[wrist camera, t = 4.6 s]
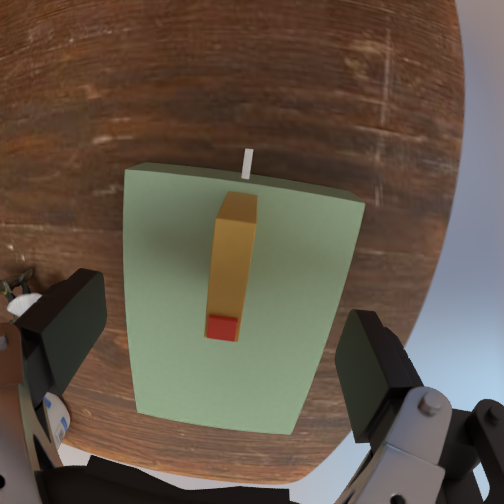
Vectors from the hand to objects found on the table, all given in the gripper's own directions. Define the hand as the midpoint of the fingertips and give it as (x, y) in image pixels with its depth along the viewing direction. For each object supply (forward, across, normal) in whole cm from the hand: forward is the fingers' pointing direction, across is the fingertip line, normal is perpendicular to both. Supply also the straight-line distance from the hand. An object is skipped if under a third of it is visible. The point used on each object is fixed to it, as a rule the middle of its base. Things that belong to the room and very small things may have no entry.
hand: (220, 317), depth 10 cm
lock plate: (+10, 0, +6) cm, 11 cm away
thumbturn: (+7, 0, 0) cm, 7 cm away
